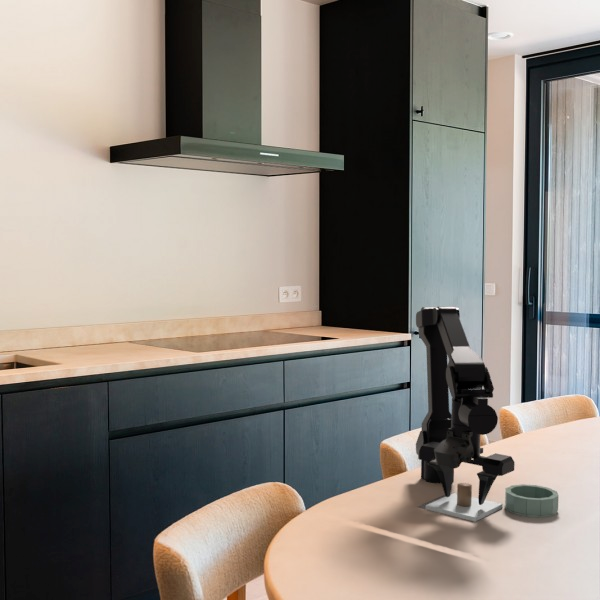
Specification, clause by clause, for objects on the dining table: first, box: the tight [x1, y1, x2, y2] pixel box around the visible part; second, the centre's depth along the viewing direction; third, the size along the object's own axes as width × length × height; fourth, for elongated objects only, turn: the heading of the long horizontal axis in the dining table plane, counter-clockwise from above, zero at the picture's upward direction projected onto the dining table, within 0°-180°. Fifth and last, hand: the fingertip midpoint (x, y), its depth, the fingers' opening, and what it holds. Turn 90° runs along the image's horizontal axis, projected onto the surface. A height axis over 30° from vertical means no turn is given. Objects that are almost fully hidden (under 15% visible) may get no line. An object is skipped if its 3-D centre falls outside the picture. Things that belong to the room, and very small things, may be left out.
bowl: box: [504, 483, 559, 518], centre depth 164 cm, size 10×10×4 cm
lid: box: [425, 482, 503, 522], centre depth 164 cm, size 11×11×5 cm
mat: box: [417, 494, 503, 523], centre depth 165 cm, size 13×11×1 cm
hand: (464, 500), depth 164 cm, fingers open, 7 cm apart
